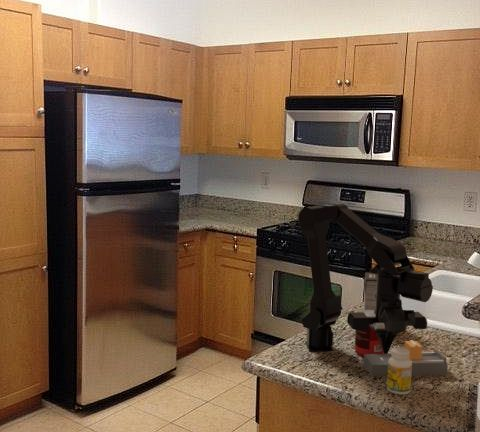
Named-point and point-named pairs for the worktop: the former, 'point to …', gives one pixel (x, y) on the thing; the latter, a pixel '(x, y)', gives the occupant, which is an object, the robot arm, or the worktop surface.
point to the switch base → (426, 367)
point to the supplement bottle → (399, 372)
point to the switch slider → (414, 350)
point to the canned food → (367, 339)
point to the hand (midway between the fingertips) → (385, 353)
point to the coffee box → (370, 291)
